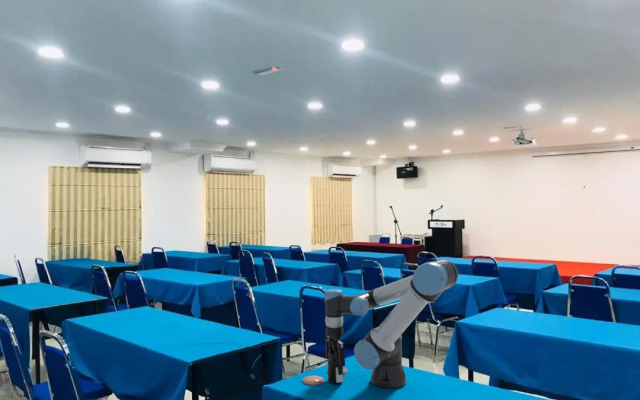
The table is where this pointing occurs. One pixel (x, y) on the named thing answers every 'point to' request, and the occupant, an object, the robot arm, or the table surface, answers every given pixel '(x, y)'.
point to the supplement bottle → (332, 367)
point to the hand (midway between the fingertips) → (335, 379)
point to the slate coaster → (344, 370)
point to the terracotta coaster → (312, 380)
